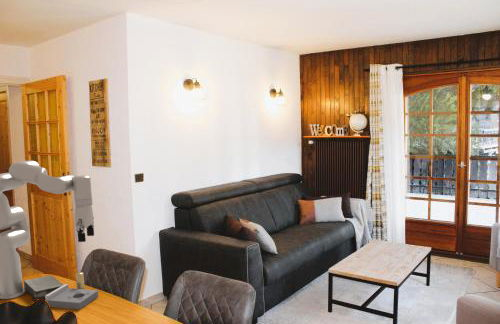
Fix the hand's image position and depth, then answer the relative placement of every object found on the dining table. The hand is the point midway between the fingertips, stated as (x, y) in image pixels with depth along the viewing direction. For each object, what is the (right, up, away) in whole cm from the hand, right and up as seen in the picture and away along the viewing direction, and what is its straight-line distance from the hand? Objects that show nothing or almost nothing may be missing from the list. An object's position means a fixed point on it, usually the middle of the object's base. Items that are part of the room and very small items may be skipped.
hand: (86, 238), depth 198 cm
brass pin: (-8, -29, +14) cm, 33 cm away
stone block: (-26, -29, +14) cm, 42 cm away
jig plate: (-7, -30, +2) cm, 31 cm away
